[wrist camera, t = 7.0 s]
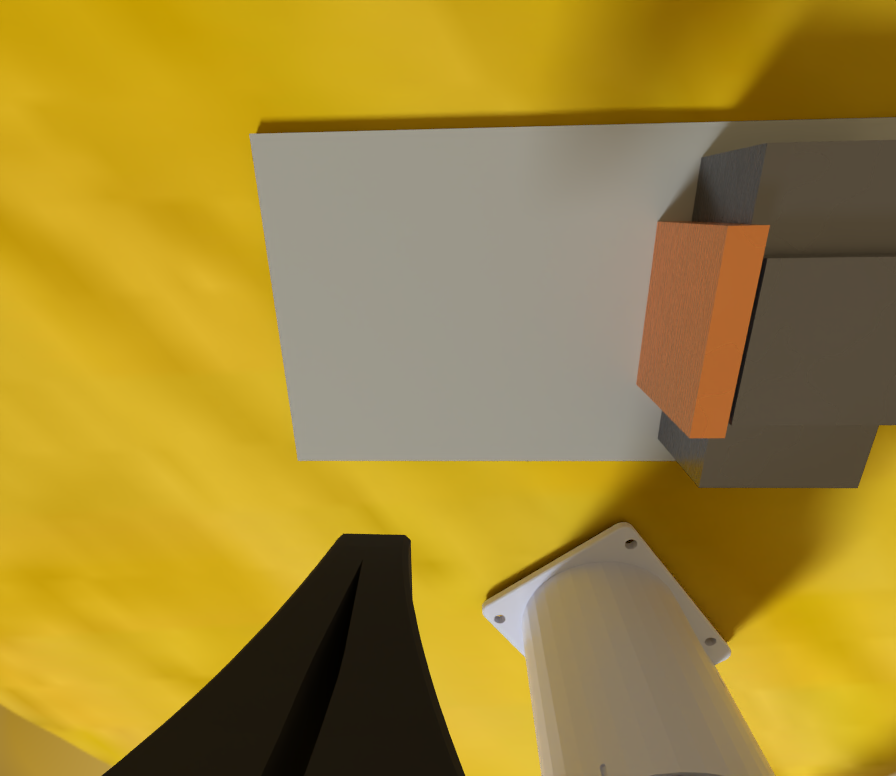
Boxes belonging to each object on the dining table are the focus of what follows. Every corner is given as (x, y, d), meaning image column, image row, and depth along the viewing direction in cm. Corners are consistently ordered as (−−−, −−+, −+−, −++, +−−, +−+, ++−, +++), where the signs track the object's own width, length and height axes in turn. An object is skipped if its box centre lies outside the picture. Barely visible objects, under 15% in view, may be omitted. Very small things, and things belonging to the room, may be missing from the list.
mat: (944, 117, 15) (957, 115, 14) (838, 456, 19) (846, 461, 19) (254, 135, 16) (249, 134, 15) (301, 456, 20) (298, 460, 19)
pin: (905, 216, 15) (1070, 219, 11) (854, 382, 17) (978, 437, 13) (657, 221, 16) (728, 225, 11) (636, 384, 18) (689, 438, 14)
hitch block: (863, 153, 15) (1021, 131, 11) (787, 438, 18) (883, 506, 14) (701, 157, 15) (794, 136, 11) (657, 438, 18) (714, 505, 14)
